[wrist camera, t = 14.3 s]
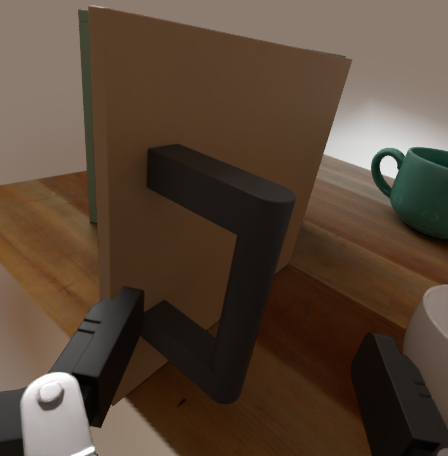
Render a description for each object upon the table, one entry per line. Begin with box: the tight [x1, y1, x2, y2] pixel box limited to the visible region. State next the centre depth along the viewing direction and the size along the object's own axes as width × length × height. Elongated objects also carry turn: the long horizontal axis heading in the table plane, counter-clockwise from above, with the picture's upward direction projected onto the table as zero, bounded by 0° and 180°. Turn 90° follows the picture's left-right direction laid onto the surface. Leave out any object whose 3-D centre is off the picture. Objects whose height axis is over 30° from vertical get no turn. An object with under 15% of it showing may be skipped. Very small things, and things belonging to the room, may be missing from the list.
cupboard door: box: [88, 5, 352, 406], centre depth 20 cm, size 7×21×18 cm, turn 142°
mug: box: [371, 147, 448, 239], centre depth 45 cm, size 17×13×10 cm
